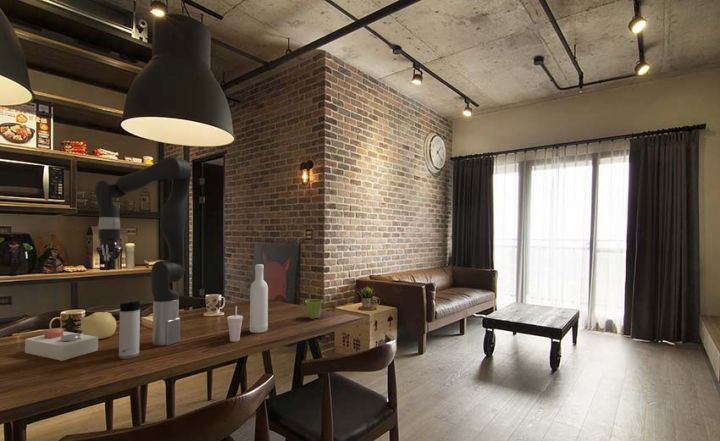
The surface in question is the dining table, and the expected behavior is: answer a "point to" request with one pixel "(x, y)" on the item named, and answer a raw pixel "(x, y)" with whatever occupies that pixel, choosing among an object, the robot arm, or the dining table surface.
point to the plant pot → (314, 308)
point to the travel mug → (129, 330)
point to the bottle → (258, 302)
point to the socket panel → (61, 346)
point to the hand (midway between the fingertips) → (109, 269)
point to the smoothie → (234, 326)
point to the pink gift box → (53, 333)
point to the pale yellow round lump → (99, 325)
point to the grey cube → (70, 337)
